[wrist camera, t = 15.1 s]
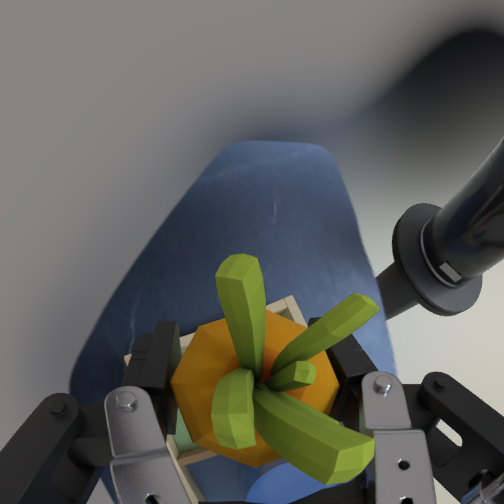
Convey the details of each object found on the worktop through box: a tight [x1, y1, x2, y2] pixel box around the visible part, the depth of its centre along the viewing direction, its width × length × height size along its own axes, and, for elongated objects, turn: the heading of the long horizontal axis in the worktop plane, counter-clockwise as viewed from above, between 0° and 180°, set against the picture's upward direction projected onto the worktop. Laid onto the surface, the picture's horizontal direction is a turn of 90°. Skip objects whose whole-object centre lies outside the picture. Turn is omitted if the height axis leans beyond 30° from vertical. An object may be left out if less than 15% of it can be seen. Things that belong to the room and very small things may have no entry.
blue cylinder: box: [237, 457, 337, 504], centre depth 15 cm, size 6×6×7 cm
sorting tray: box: [124, 295, 344, 504], centre depth 19 cm, size 14×18×3 cm
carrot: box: [170, 254, 380, 485], centre depth 10 cm, size 5×5×15 cm
